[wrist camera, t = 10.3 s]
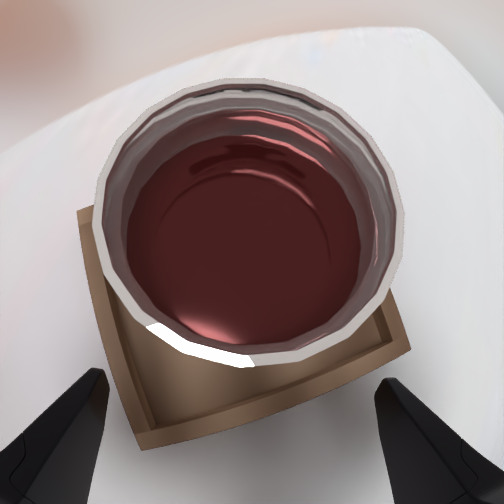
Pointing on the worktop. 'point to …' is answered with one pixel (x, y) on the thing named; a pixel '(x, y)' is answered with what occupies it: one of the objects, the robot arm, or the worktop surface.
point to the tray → (218, 367)
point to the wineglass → (248, 222)
